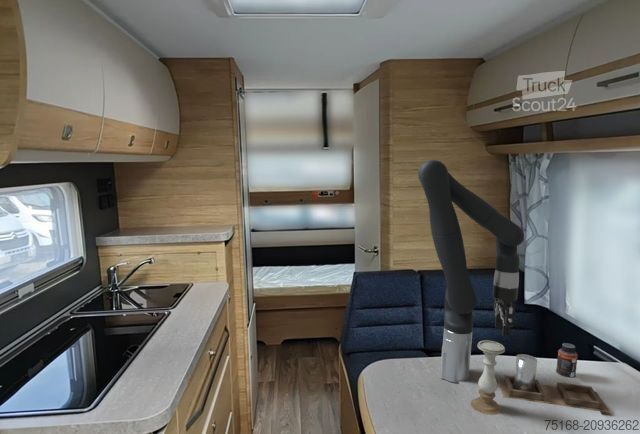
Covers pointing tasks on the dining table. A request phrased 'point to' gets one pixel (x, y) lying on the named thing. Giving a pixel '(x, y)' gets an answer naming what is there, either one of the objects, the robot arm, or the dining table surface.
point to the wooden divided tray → (556, 395)
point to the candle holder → (488, 379)
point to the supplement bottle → (567, 360)
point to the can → (525, 373)
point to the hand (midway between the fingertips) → (502, 332)
